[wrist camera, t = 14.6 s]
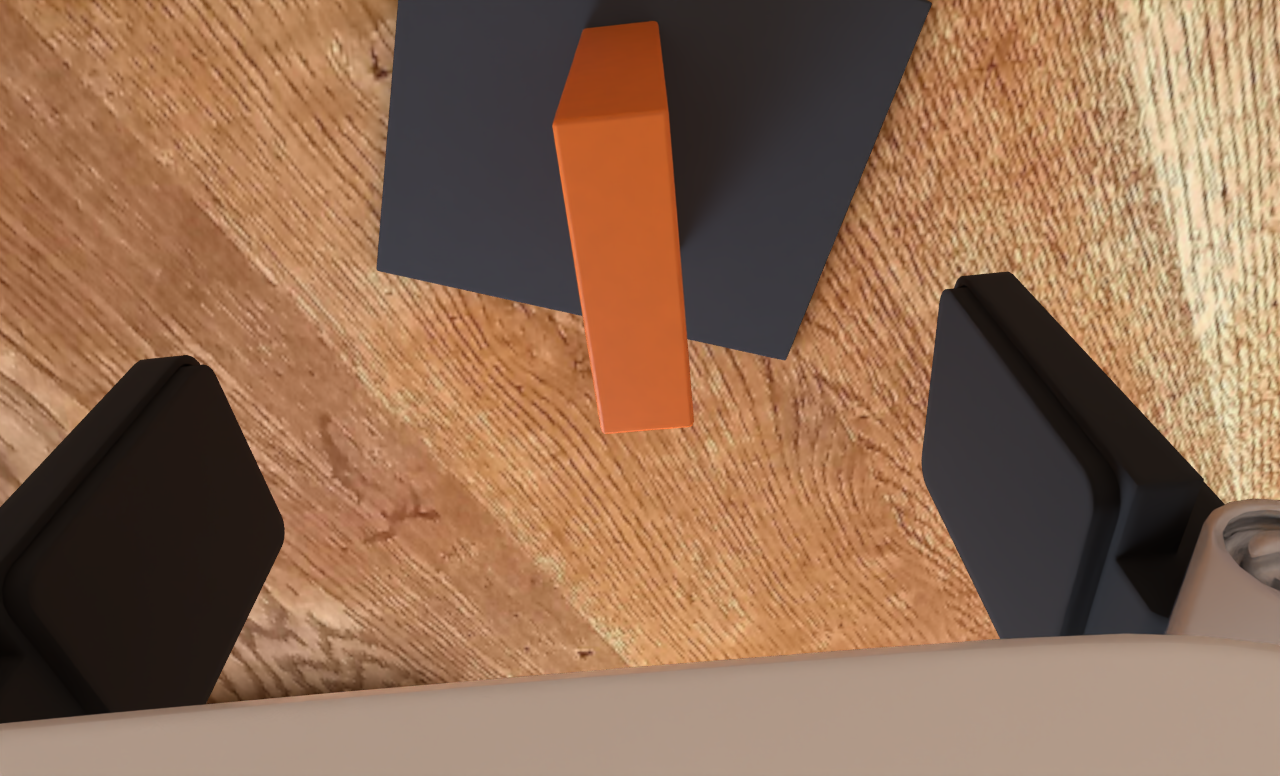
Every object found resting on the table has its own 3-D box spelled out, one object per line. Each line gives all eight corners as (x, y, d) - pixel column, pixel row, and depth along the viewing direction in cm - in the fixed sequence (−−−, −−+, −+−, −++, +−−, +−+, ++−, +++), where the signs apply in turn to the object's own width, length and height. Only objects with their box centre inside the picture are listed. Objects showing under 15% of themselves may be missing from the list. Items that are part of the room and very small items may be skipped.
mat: (379, 264, 23) (376, 270, 22) (414, -150, 17) (409, -150, 17) (783, 354, 24) (786, 361, 24) (927, 0, 19) (932, 2, 19)
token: (612, 262, 22) (601, 436, 16) (581, 28, 19) (550, 121, 12) (677, 256, 22) (694, 428, 16) (657, 19, 19) (668, 108, 12)
